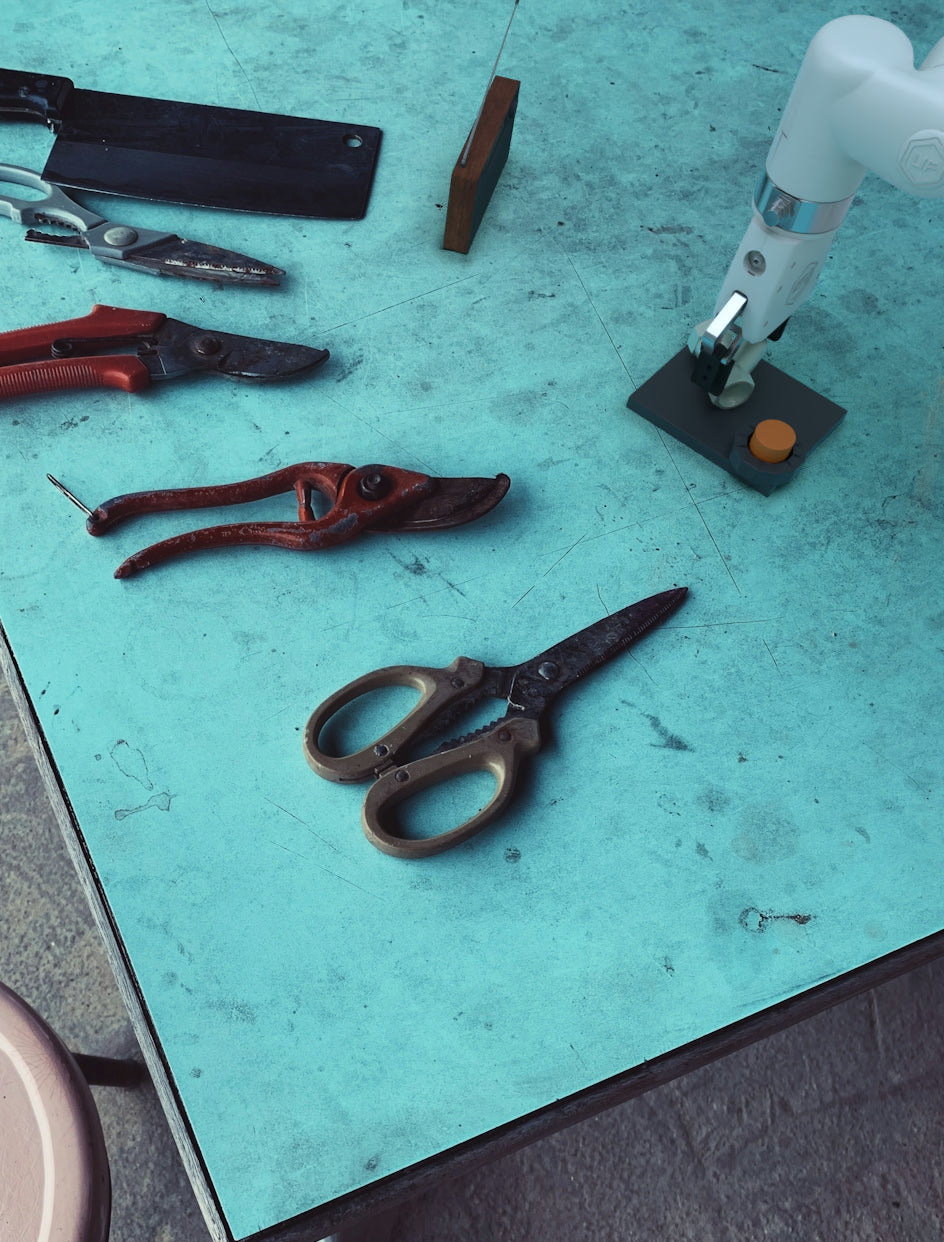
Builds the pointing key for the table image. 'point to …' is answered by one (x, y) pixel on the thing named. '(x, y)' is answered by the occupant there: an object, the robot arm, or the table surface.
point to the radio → (481, 160)
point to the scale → (737, 419)
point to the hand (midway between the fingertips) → (735, 359)
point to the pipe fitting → (745, 362)
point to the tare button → (772, 441)
